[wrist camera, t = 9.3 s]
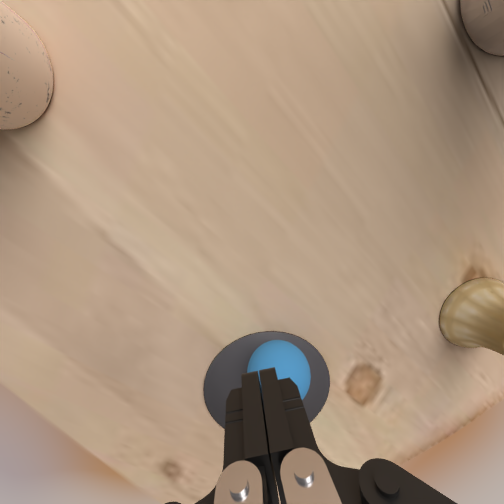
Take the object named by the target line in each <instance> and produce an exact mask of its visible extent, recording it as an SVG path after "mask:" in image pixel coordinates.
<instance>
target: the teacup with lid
mask: <svg viewBox="0 0 504 504" xmlns="http://www.w3.org/2000/svg"><path fill="white" fill-rule="evenodd" d="M52 92H53V70H52V65H51V62H50V59H49V56H48V53H47V51H46V49H45V47H44V45H43V43H42V41H41V40H40V38H39V37H38V35H37V34H36V33H35V31H34V30H33V29H32V28H31V27H30V25H29V24H28V23H27V22H26V21H25V20H24V19H23V18H21V17H20V16H19V15H18V14H17V13H15V12H14V11H13V10H12V9H11V8H9V7H8V6H7V5H6V4H5V3H3V2H2V1H1V0H0V129H16V128H21V127H24V126H27V125H29V124H31V123H32V122H34V121H35V120H37V119H38V118H39V117H40V116H41V115H42V114H43V112H44V111H45V110H46V108H47V106H48V104H49V102H50V99H51V96H52Z"/></svg>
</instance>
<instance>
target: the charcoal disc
mask: <svg viewBox="0 0 504 504" xmlns="http://www.w3.org/2000/svg"><path fill="white" fill-rule="evenodd" d="M271 340H284V341H287V342H290V343H292V344H293V345H295V346H296V347H298V348H299V349H300V350H301V351H302V353H303V354H304V356H305V357H306V359H307V361H308V364H309V367H310V373H311V380H310V386H309V389H308V392H307V394H306V396H305V397H304V399H303V400H302V402H303V405H304V408H305V411H306V414H307V417H308V420H309V423H310V422H311V421H312V420H313V419H314V418H315V417H316V416H317V415H318V413H319V412H320V411H321V409H322V407H323V406H324V404H325V402H326V399H327V397H328V393H329V387H330V376H329V371H328V368H327V365H326V363H325V361H324V359H323V357H322V355H321V354H320V353H319V352H318V350H317V349H316V348H315V347H314V346H312V345H311V344H310V343H309V342H307V341H306V340H304V339H302V338H300V337H298V336H295V335H292V334H289V333H284V332H277V331H265V332H258V333H254V334H250V335H247V336H244V337H242V338H239V339H238V340H236V341H234V342H232V343H231V344H229V345H228V346H226V347H225V348H224V349H223V350H222V351H221V352H220V353H219V354H218V355H217V356H216V357H215V359H214V360H213V362H212V363H211V365H210V367H209V369H208V371H207V374H206V378H205V383H204V398H205V403H206V405H207V408H208V410H209V412H210V414H211V416H212V417H213V418H214V419H215V421H216V422H217V423H218V424H219V425H220V426H222V427H223V428H224V429H225V415H226V400H227V397H228V395H229V393H230V391H231V390H232V389H236V388H241V387H242V380H241V374H244V373H247V368H248V363H249V360H250V358H251V356H252V354H253V353H254V351H255V350H256V349H257V348H258V347H259V346H260V345H262V344H263V343H265V342H268V341H271Z"/></svg>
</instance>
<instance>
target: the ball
mask: <svg viewBox="0 0 504 504" xmlns="http://www.w3.org/2000/svg"><path fill="white" fill-rule="evenodd" d="M272 367H275V370H276V374H277V378H278V380H279V379H284V378H289V377H290V379H291V380H292V381H293V382H294V383H295V384H296V385H297V386H298V389H299V393H300V396H301V399H302V400H303V399H304V397H305V396H306V394H307V392H308V389H309V386H310V380H311V373H310V367H309V364H308V361H307V359H306V357H305V356H304V354H303V353H302V351H301V350H300V349H299V348H298V347H296V346H295V345H293V344H292V343H290V342H287V341H284V340H271V341H268V342H265V343H263V344H262V345H260V346H259V347H258V348H257V349H256V350H255V351H254V353H253V354H252V356H251V358H250V360H249V363H248V368H247V373H249V372H253V371H258V374H259V370H263V369H268V368H272ZM259 379H260V375H259ZM260 384H261V382H260Z"/></svg>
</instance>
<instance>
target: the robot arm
mask: <svg viewBox="0 0 504 504" xmlns="http://www.w3.org/2000/svg"><path fill="white" fill-rule="evenodd" d="M460 4H461V15H462V19H463V23H464V26H465V28H466V30H467V33H468V35H469V37H470V38H471V39H472V40H473V42H474V43H475V44H476V45H477V46H478V47H480V48H481V49H482V50H484V51H485V52H488V53H491V54H494V55H502V56H504V0H460ZM259 375H260V379H259ZM241 380H242V387H241V388H236V389H232V390H231V391H230V393H229V395H228V397H227V400H226V415H225V439H224V465H223V471H222V473H221V475H220V477H219V479H218V482H217V485H216V486H215V488H214V489H213V490H212V491H211V492H210V493H209V494H208V495H207V496H206V497H204V498H203V499H201V500H200V501H198V502H197V503H195V504H279V498H278V491H279V496H280V501H281V504H457V503H455V502H454V501H452V500H451V499H449V498H448V497H446V496H444V495H443V494H441V493H440V492H438V491H437V490H435V489H433V488H432V487H430V486H429V485H427V484H426V483H424V482H423V481H421V480H420V479H418V478H416V477H415V476H413V475H412V474H410V473H409V472H407V471H406V470H404V469H403V468H401V467H399V466H398V465H396V464H395V463H393V462H391V461H388V460H385V459H379V458H376V459H371V460H368V461H366V462H365V463H364V464H363V465H362V467H361V469H360V470H359V469H352V468H346V467H341V466H338V465H335V464H334V463H332V462H330V461H329V460H327V459H326V458H325V457H324V456H323V455H322V453H321V452H320V450H319V449H318V447H317V444H316V441H315V438H314V435H313V432H312V429H311V426H310V423H309V420H308V417H307V414H306V411H305V408H304V405H303V402H302V399H301V396H300V393H299V389H298V386H297V385H296V384H295V383H294V382H293V381H292V380H291V379H290V377H289V378H284V379H279V380H278V378H277V374H276V370H275V367H272V368H268V369H263V370H259V374H258V371H253V372H249V373H244V374H241ZM260 382H261V384H260ZM276 482H277V484H276ZM277 486H278V491H277ZM165 504H181V503H178V502H168V503H165Z"/></svg>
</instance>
